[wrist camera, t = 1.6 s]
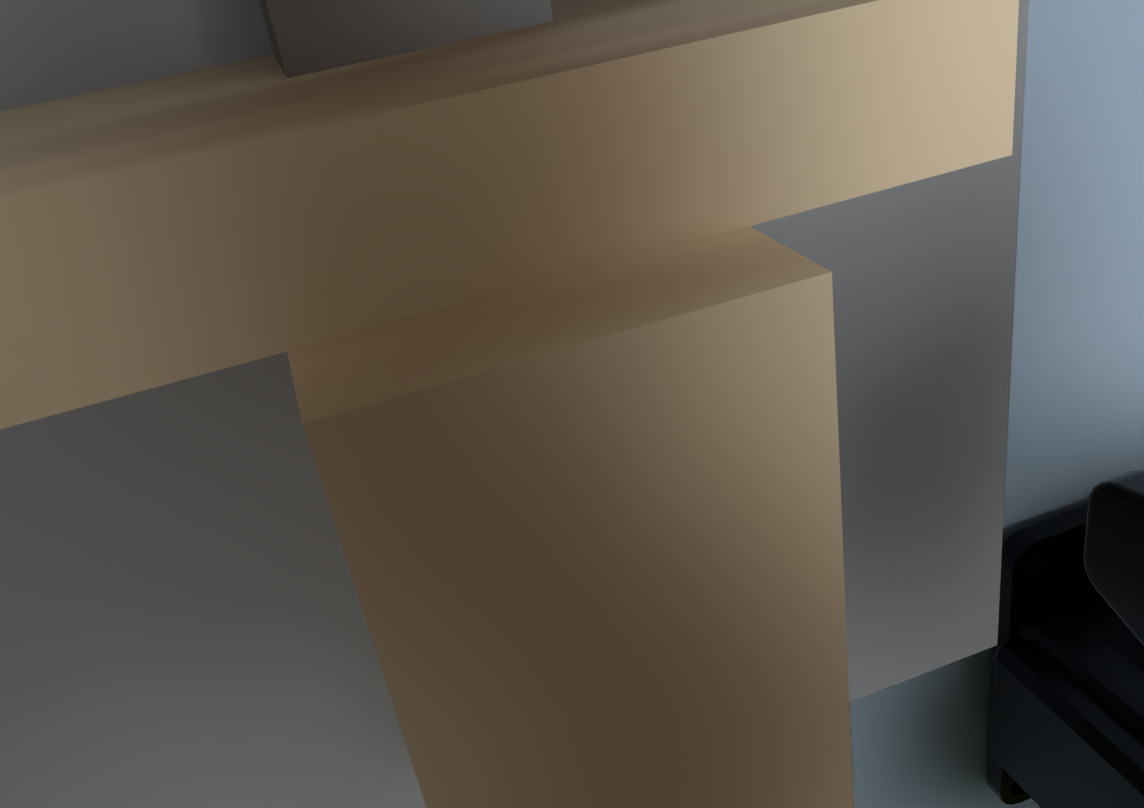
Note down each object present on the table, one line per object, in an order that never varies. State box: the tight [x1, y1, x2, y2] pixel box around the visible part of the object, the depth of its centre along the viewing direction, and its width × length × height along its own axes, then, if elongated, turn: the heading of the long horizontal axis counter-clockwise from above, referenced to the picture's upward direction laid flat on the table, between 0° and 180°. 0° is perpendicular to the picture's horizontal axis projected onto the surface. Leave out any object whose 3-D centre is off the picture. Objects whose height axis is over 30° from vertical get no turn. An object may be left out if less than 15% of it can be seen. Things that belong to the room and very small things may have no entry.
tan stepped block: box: [0, 0, 1019, 808], centre depth 8 cm, size 10×12×4 cm
